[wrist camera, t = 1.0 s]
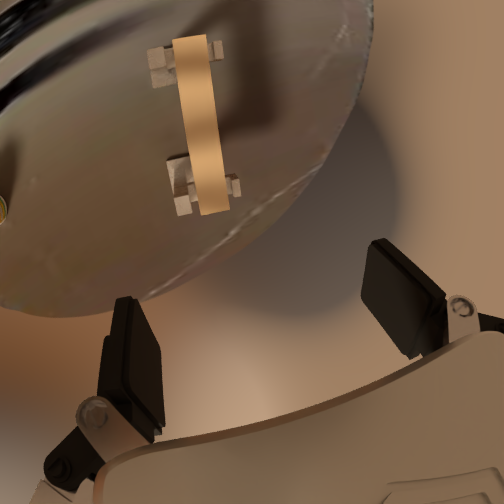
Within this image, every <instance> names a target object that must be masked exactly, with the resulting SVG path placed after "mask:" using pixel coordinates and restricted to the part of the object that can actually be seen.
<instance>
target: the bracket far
mask: <svg viewBox="0 0 504 504" xmlns="http://www.w3.org/2000/svg"><path fill="white" fill-rule="evenodd" d="M166 162H167V166H168V171H169V176H170V180H171V185H172V189H173V194H174V201H175V206H176V210H177V214H178V216H181V215H185V214H190V213H192V208H191V202H194V201H198V197H197V192H196V187H195V182H194V176H193V171H192V165H191V160H190V155H189V156H184V157H180V158H175V159H171V160H167V161H166ZM225 181H226V187H227V194H232V195H233V197H238V196H241V191H240V183H239V178H238V177H237V175H236V174H235V173H233V174H228V175H225Z"/></svg>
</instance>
